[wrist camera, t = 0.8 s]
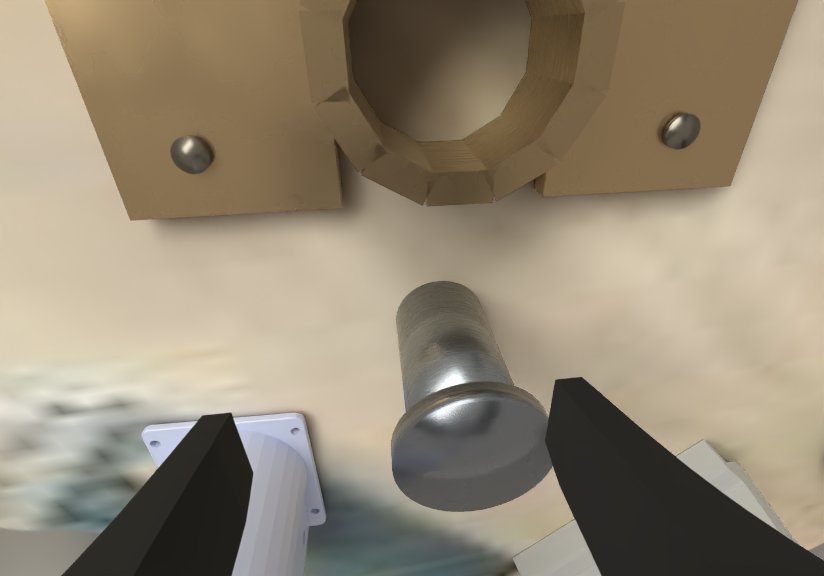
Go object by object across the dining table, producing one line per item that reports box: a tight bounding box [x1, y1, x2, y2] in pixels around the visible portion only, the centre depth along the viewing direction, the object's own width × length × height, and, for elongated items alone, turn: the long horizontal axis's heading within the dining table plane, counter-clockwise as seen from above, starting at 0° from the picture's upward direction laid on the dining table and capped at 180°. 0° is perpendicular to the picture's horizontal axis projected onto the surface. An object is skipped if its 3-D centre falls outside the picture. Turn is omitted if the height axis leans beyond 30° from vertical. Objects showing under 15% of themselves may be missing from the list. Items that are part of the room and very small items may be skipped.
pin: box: [391, 281, 553, 512], centre depth 17 cm, size 5×5×8 cm
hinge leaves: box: [45, 0, 798, 220], centre depth 13 cm, size 10×23×4 cm, turn 91°
